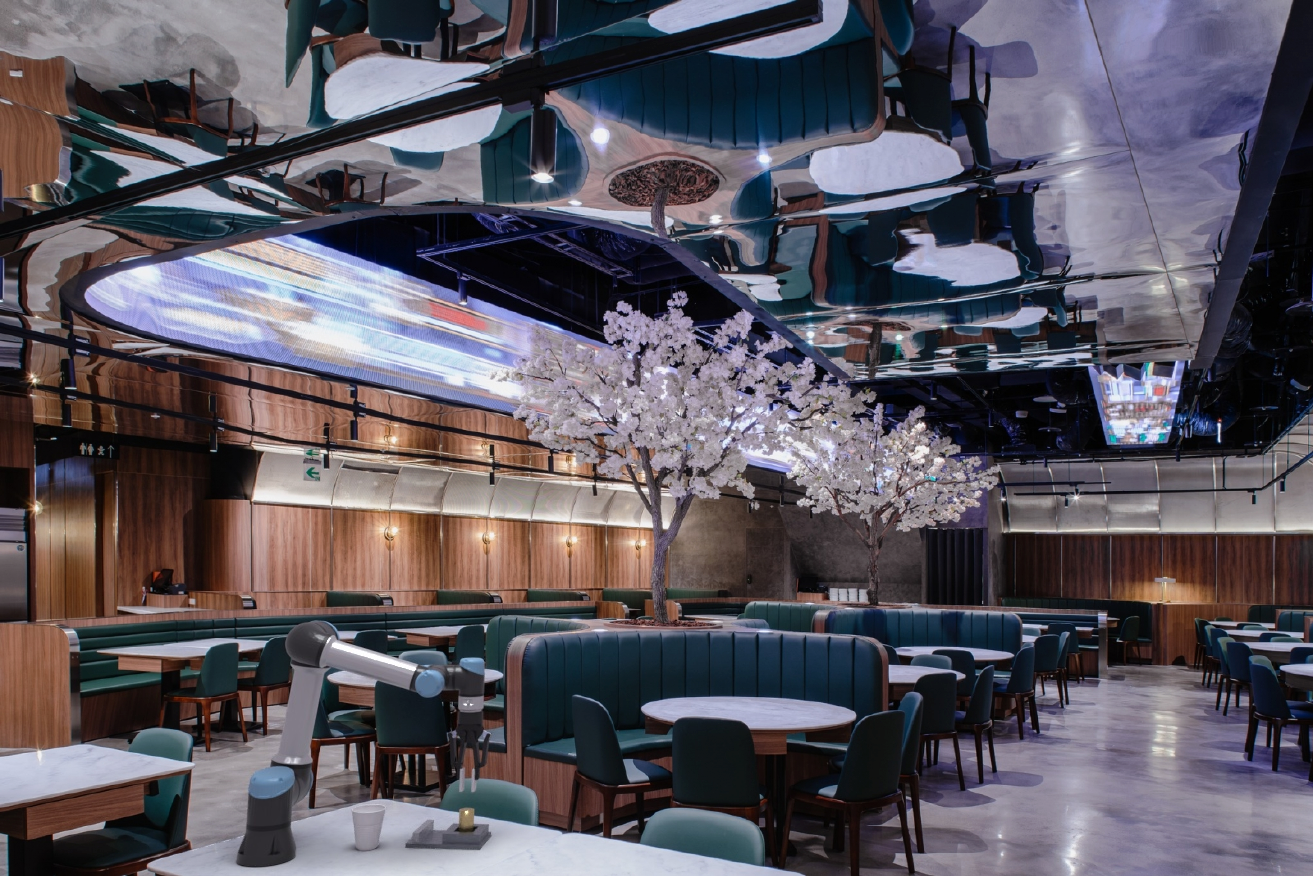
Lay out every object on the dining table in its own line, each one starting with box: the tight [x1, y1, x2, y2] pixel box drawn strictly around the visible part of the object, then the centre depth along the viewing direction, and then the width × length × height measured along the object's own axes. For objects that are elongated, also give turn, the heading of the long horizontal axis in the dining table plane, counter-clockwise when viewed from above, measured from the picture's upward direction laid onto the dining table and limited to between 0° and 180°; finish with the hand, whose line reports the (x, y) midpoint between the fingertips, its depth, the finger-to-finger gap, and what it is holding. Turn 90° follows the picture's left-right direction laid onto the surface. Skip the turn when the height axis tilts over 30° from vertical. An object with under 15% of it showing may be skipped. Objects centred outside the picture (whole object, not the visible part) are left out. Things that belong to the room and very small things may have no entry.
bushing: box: [458, 807, 475, 832], centre depth 266 cm, size 4×4×8 cm
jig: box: [404, 819, 492, 851], centre depth 266 cm, size 22×14×4 cm, turn 87°
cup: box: [351, 803, 388, 852], centre depth 260 cm, size 10×10×11 cm
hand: (467, 791), depth 268 cm, fingers open, 3 cm apart
